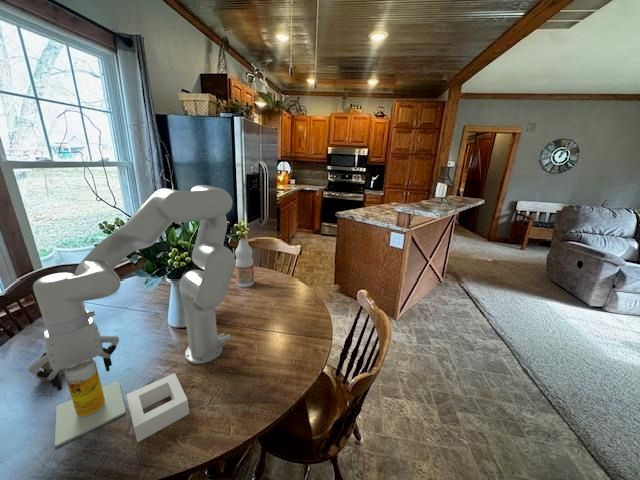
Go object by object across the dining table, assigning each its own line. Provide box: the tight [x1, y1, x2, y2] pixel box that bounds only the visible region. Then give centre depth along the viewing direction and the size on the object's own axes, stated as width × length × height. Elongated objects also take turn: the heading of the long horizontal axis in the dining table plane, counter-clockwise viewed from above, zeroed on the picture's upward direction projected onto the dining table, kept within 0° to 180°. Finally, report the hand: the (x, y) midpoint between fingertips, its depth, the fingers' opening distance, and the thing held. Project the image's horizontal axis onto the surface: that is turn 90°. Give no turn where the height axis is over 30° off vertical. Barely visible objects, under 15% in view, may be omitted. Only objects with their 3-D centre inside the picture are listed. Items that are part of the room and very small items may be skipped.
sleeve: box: [125, 372, 190, 443], centre depth 73 cm, size 12×12×5 cm
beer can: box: [64, 358, 105, 417], centre depth 71 cm, size 6×6×15 cm
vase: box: [34, 351, 66, 383], centre depth 83 cm, size 7×7×9 cm
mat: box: [54, 380, 126, 448], centre depth 74 cm, size 14×14×1 cm
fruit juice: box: [234, 235, 255, 288], centre depth 146 cm, size 9×9×28 cm
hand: (85, 377), depth 71 cm, fingers open, 9 cm apart
